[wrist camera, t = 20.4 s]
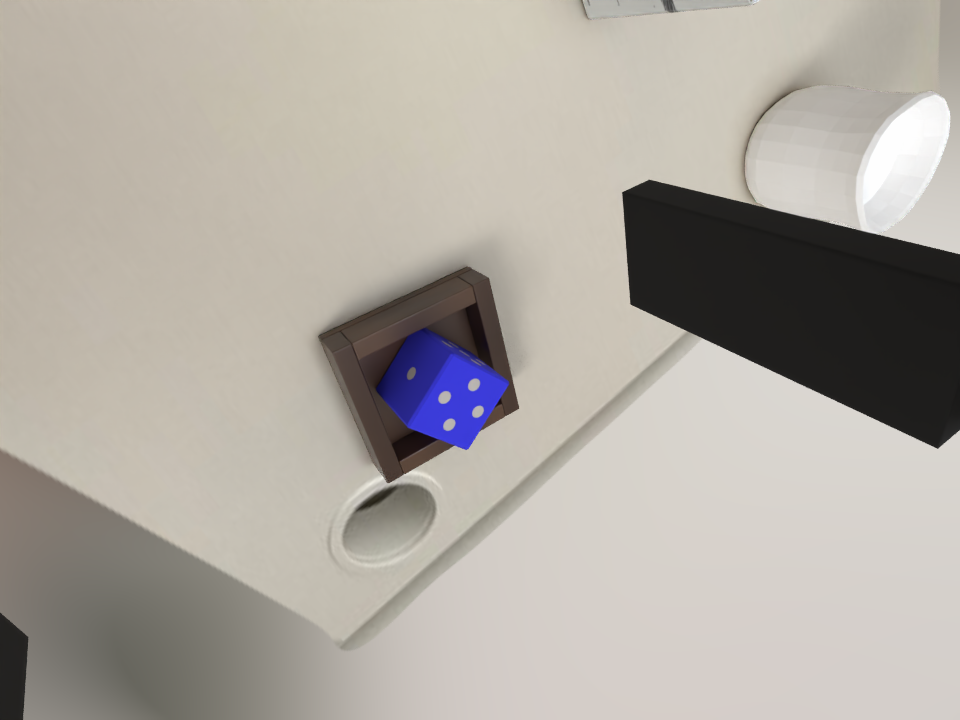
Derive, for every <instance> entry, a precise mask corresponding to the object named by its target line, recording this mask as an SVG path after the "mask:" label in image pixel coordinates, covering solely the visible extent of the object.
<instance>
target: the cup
mask: <svg viewBox="0 0 960 720" xmlns="http://www.w3.org/2000/svg"><path fill="white" fill-rule="evenodd" d="M949 130H950V111H949V109H948V106H947V103H946V100H945V99H944V98H943V97H942V96H941V95H939V94H937V93H935V92H933V91H932V90H931V91H926V92H919V93H903V92H880V91H874V90H868V89H862V88H856V87H850V86H831V85H818V86H813V87H808V88H804V89H800V90H796V91H794V92H792V93H790V94H789V95H787V96H786V97H784V98H782V99H781V100H779V101H778V102H777V103H776V104H775V105H773V106H772V107H771V108H770V109H769V110H768V111H767V112H766V113H765V114H764V115H763V117H762V118H761V119H760V121H759V122H758V123H757V125H756V127H755V129H754V131H753V133H752V135H751V137H750V140H749V143H748V147H747V151H746V155H745V177H746V181H747V185H748V189H749V190H750V192H751V194H752V195H753V197H754V199H755V200H756V202H758V203H760V204H762V205H763V206H765V207H767V208H769V209H773V210H777V211H781V212H786V213H790V214H794V215H798V216H802V217H806V218H814V219H821V220H828V221H833V222H838V223H842V224H845V225H847V226H850V227H853V228H855V229H858V230H860V231H865V232H869V233H873V234H879V233H882V232H884V231H886V230H887V229H888V228H890V227H892V226H893V225H895V224H896V223H898V222H899V221H900V220H901V219H902V218H903V217H904V216H906V215H907V214H908V212H909V211H910V210H911V209H912V207H913V206H914V205H915V204H916V202H917V201H918V200H919V198H920V197H921V195H922V193H923V192H924V190H925V189H926V187H927V185H928V184H929V182H930V180H931V178H932V176H933V174H934V172H935V170H936V168H937V166H938V163H939V161H940V159H941V157H942V154H943V151H944V148H945V145H946V142H947V139H948V136H949Z"/></svg>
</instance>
